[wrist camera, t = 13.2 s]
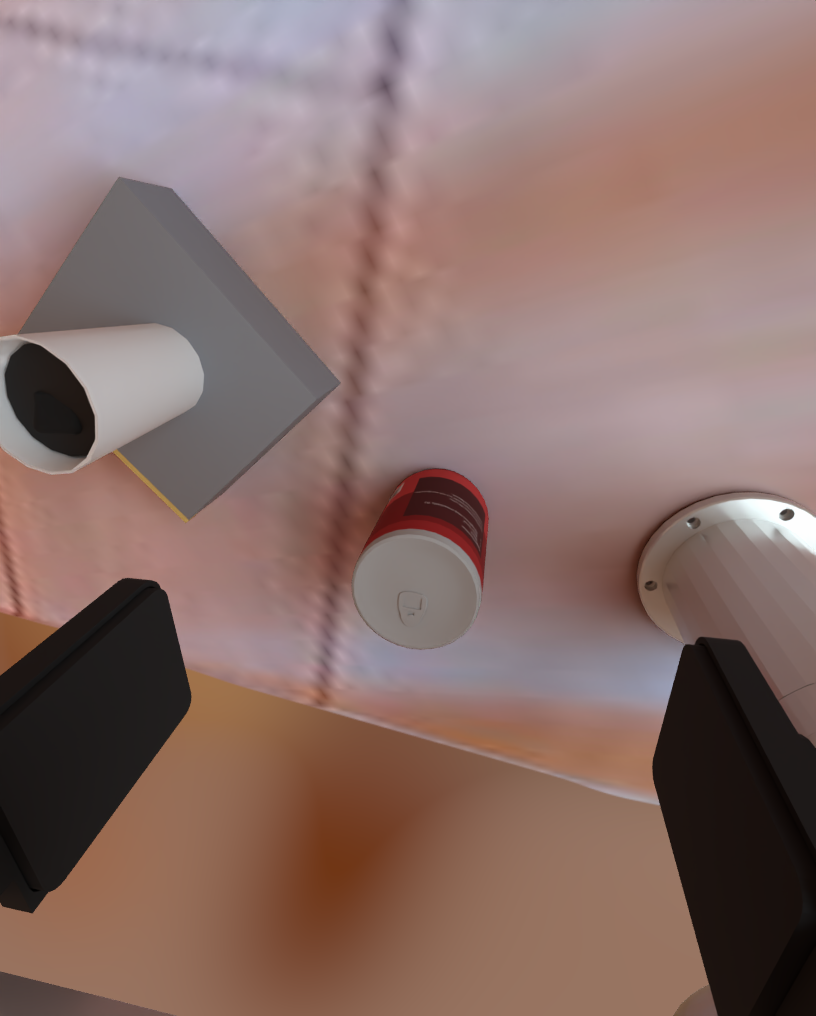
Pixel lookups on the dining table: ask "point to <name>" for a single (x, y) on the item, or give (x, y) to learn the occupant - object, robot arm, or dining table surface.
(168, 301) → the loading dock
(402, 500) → the canned food
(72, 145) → the dining table surface
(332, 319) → the dining table surface
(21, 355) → the white cup
